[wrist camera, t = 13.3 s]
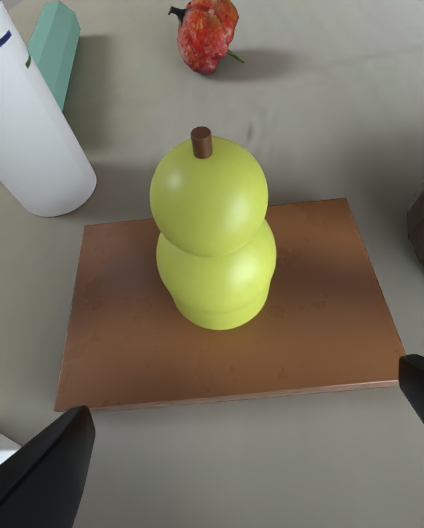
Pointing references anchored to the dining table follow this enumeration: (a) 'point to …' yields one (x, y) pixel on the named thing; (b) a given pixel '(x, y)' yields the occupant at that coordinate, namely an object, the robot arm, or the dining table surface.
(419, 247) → the bowl
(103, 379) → the board
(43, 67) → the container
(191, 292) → the pear
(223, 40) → the red rounded lumpy piece
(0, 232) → the dining table surface
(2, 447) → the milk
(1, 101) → the cylindrical container
